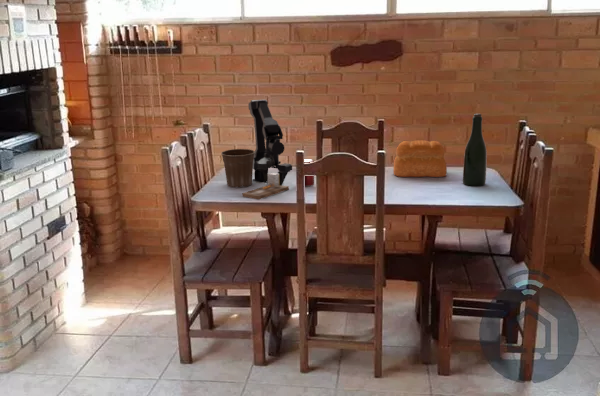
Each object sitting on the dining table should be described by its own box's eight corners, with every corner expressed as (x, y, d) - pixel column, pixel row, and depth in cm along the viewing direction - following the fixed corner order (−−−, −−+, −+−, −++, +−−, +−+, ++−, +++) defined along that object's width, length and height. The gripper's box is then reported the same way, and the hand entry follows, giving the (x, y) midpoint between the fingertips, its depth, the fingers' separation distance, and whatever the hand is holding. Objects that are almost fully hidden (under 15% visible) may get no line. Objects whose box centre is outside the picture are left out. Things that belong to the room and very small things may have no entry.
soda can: (316, 183, 298) (315, 159, 295) (311, 187, 291) (311, 162, 288) (302, 182, 300) (301, 158, 297) (297, 186, 293) (296, 161, 290)
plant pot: (249, 189, 290) (248, 155, 285) (217, 188, 294) (215, 154, 290) (260, 181, 305) (259, 149, 301) (230, 180, 309) (228, 148, 305)
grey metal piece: (272, 185, 289) (271, 172, 287) (278, 186, 286) (278, 173, 285) (260, 189, 282) (259, 176, 281) (267, 190, 280) (266, 177, 278)
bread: (392, 170, 321) (393, 138, 317) (443, 171, 319) (445, 138, 314) (394, 177, 306) (394, 143, 302) (447, 177, 304) (449, 143, 299)
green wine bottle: (489, 183, 290) (493, 113, 282) (478, 187, 283) (482, 115, 274) (469, 180, 297) (472, 111, 289) (458, 184, 290) (461, 114, 281)
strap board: (272, 186, 294) (272, 183, 293) (288, 189, 288) (288, 186, 287) (242, 196, 278) (242, 192, 277) (259, 199, 272) (259, 195, 271)
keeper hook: (278, 184, 291) (278, 174, 290) (285, 185, 289) (284, 175, 288) (275, 185, 289) (274, 175, 288) (281, 186, 287) (281, 176, 286)
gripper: (245, 151, 281) (246, 185, 285) (277, 155, 270) (278, 190, 274) (261, 148, 290) (262, 180, 294) (292, 151, 279) (293, 185, 283)
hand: (273, 184), depth 286 cm, fingers open, 9 cm apart
